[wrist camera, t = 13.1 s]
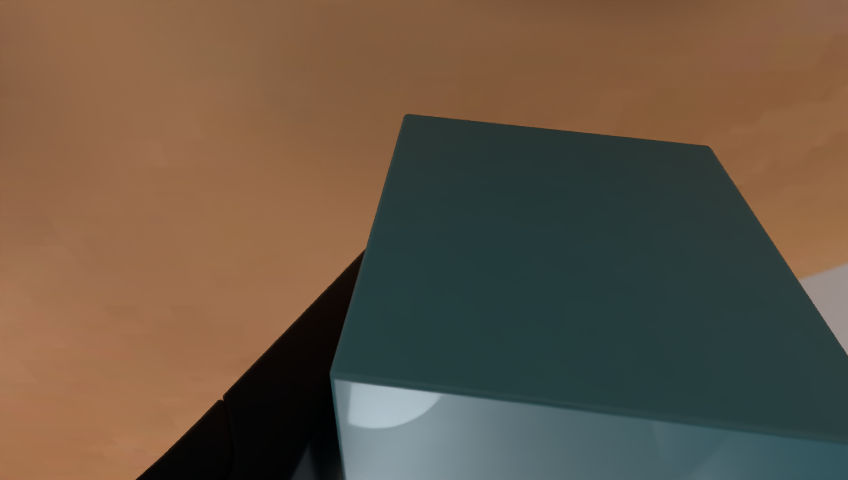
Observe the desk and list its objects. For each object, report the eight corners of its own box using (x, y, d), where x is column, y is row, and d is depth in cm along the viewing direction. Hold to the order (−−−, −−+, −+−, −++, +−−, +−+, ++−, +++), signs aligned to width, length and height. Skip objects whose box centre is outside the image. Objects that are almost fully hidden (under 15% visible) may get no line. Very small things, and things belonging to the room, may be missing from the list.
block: (610, 332, 10) (670, 594, 7) (397, 307, 10) (351, 549, 7) (710, 144, 7) (915, 452, 4) (404, 112, 7) (327, 375, 4)
